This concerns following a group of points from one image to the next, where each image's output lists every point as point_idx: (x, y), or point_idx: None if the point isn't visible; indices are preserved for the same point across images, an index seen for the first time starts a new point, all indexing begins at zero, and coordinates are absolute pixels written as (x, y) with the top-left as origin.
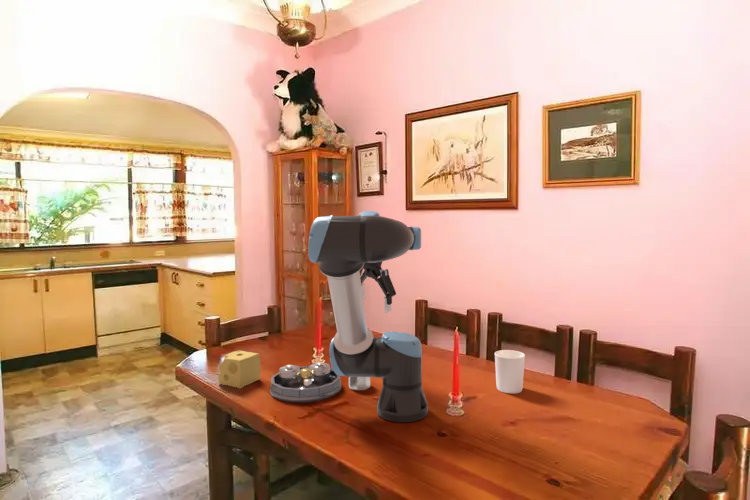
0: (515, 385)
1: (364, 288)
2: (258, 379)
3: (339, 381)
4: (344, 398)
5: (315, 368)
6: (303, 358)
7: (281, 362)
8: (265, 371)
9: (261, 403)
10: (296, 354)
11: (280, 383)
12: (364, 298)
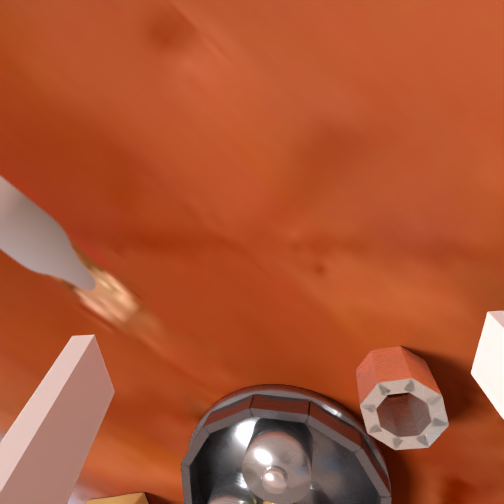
0: None
1: (11, 478)
2: (145, 497)
3: (366, 448)
4: (429, 467)
5: (287, 499)
6: (56, 310)
7: None
8: (97, 445)
9: None
10: (10, 298)
11: None
12: (91, 353)
